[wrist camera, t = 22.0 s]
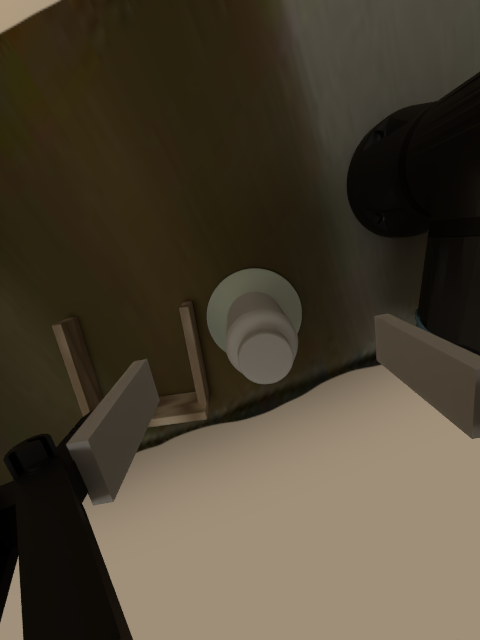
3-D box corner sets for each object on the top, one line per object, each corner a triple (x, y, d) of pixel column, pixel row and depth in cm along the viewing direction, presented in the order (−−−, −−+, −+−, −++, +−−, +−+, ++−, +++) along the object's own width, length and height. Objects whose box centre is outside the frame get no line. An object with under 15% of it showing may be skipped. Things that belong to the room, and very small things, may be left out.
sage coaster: (296, 261, 39) (298, 262, 38) (303, 351, 43) (304, 354, 42) (199, 275, 39) (199, 276, 38) (215, 363, 43) (214, 366, 42)
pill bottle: (220, 297, 39) (215, 331, 24) (275, 284, 39) (302, 310, 24) (233, 348, 41) (235, 405, 27) (285, 336, 41) (315, 387, 26)
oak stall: (192, 300, 40) (185, 310, 34) (209, 396, 45) (206, 419, 39) (68, 317, 40) (41, 330, 34) (99, 411, 45) (79, 436, 39)
